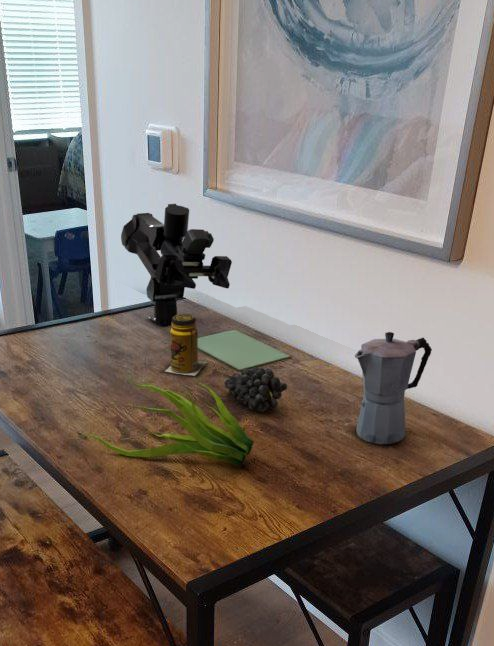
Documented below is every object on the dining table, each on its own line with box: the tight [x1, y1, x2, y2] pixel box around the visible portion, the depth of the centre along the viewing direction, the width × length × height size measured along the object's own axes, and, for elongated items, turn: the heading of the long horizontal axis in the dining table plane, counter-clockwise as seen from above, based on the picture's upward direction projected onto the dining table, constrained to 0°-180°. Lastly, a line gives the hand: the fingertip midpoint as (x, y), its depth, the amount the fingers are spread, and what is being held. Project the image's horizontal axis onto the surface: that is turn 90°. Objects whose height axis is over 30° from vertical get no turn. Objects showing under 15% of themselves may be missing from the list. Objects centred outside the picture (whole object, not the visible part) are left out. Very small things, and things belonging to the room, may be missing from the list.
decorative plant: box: [65, 366, 254, 467], centre depth 121 cm, size 18×30×15 cm, turn 51°
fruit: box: [224, 366, 288, 413], centre depth 142 cm, size 9×8×15 cm
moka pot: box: [354, 331, 433, 445], centre depth 127 cm, size 10×15×20 cm, turn 113°
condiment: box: [164, 313, 208, 377], centre depth 156 cm, size 7×8×12 cm
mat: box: [198, 329, 291, 372], centre depth 169 cm, size 22×15×1 cm
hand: (212, 286), depth 160 cm, fingers open, 9 cm apart
